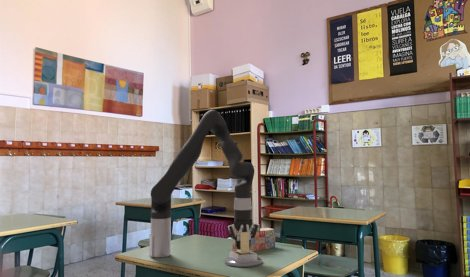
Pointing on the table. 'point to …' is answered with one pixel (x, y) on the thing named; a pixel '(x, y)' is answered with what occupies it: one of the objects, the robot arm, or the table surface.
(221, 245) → the table surface
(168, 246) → the robot arm
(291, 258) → the table surface
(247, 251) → the wooden block
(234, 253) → the gray round dish
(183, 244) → the table surface
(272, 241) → the stack of blocks
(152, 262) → the table surface
